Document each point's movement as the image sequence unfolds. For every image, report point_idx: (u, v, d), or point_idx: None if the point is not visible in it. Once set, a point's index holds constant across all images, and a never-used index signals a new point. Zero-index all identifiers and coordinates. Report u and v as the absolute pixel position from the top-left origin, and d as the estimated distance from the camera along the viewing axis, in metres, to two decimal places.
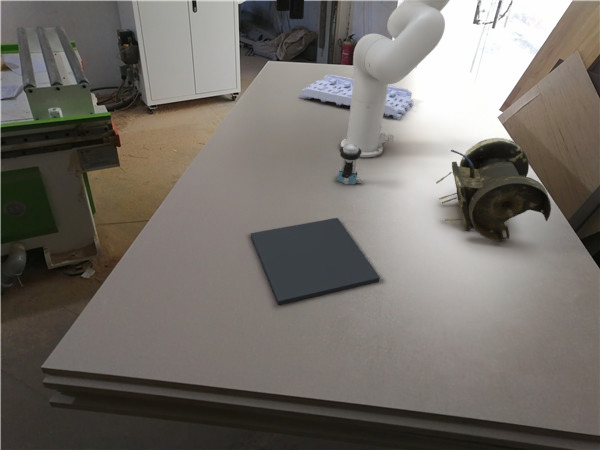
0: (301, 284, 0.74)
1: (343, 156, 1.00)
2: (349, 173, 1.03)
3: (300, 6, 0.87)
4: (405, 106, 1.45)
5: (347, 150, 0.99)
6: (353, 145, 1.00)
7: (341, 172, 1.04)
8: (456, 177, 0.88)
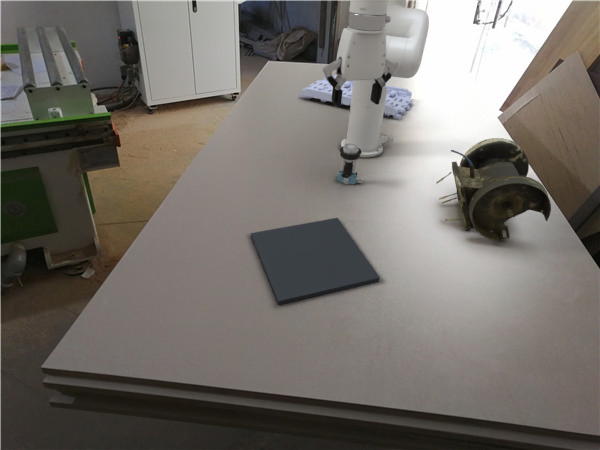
0: (301, 284, 0.74)
1: (343, 156, 1.00)
2: (349, 173, 1.03)
3: None
4: (405, 106, 1.45)
5: (347, 150, 0.99)
6: (353, 145, 1.00)
7: (341, 172, 1.04)
8: (456, 177, 0.88)
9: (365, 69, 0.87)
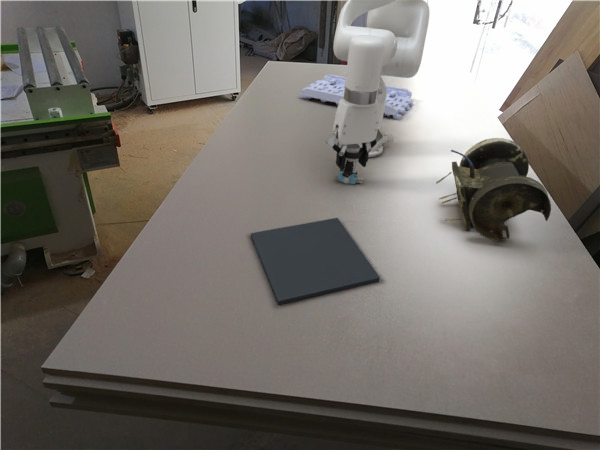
0: (301, 284, 0.74)
1: None
2: (350, 172, 1.03)
3: None
4: (405, 106, 1.45)
5: (349, 149, 0.99)
6: (355, 144, 1.01)
7: (341, 171, 1.04)
8: (456, 177, 0.88)
9: (360, 135, 0.95)
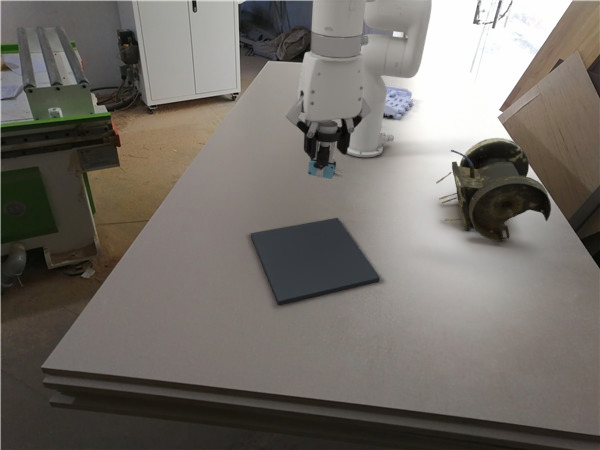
0: (301, 284, 0.74)
1: (316, 136, 0.69)
2: (324, 162, 0.72)
3: None
4: (405, 106, 1.45)
5: (321, 128, 0.68)
6: (331, 122, 0.70)
7: (313, 161, 0.73)
8: (456, 177, 0.88)
9: (336, 107, 0.65)
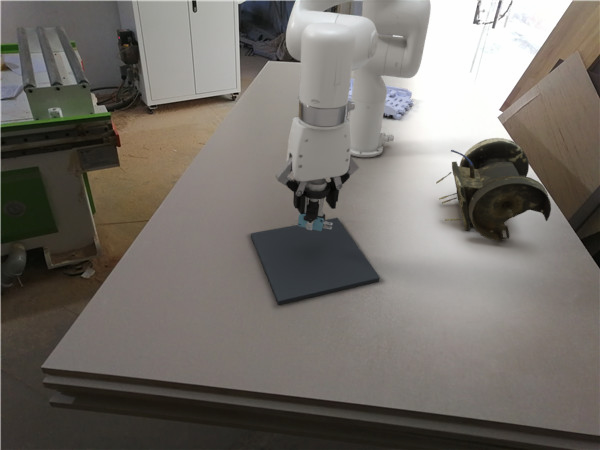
0: (301, 284, 0.74)
1: (305, 193, 0.71)
2: (313, 216, 0.74)
3: None
4: (405, 106, 1.45)
5: (310, 185, 0.70)
6: None
7: (303, 214, 0.75)
8: (456, 177, 0.88)
9: (324, 168, 0.67)
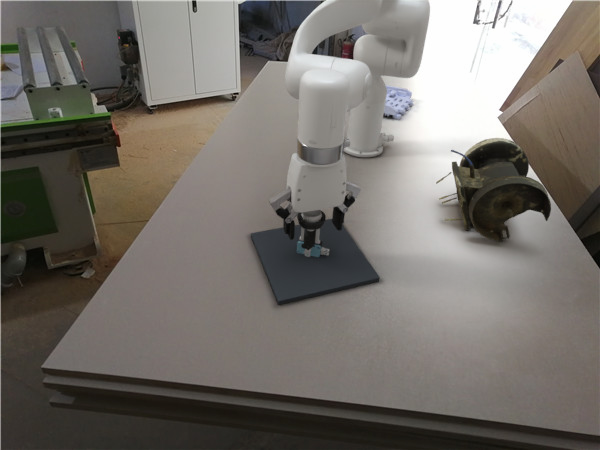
0: (301, 284, 0.74)
1: (301, 224, 0.75)
2: (311, 244, 0.78)
3: None
4: (405, 106, 1.45)
5: (306, 217, 0.74)
6: None
7: (301, 241, 0.79)
8: (456, 177, 0.88)
9: (321, 200, 0.70)
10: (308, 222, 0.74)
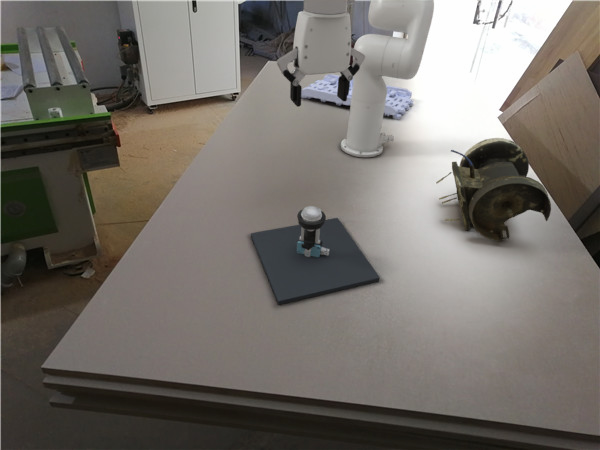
0: (301, 284, 0.74)
1: (301, 224, 0.75)
2: (311, 244, 0.78)
3: None
4: (405, 106, 1.45)
5: (306, 217, 0.74)
6: (315, 209, 0.76)
7: (301, 241, 0.79)
8: (456, 177, 0.88)
9: (327, 61, 0.73)
10: (308, 222, 0.74)
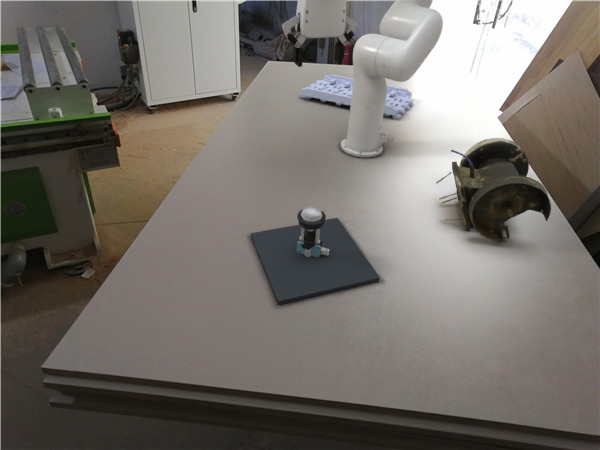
0: (301, 284, 0.74)
1: (301, 224, 0.75)
2: (311, 244, 0.78)
3: None
4: (405, 106, 1.45)
5: (306, 217, 0.74)
6: (315, 209, 0.76)
7: (301, 241, 0.79)
8: (456, 177, 0.88)
9: (325, 26, 0.85)
10: (308, 222, 0.74)
